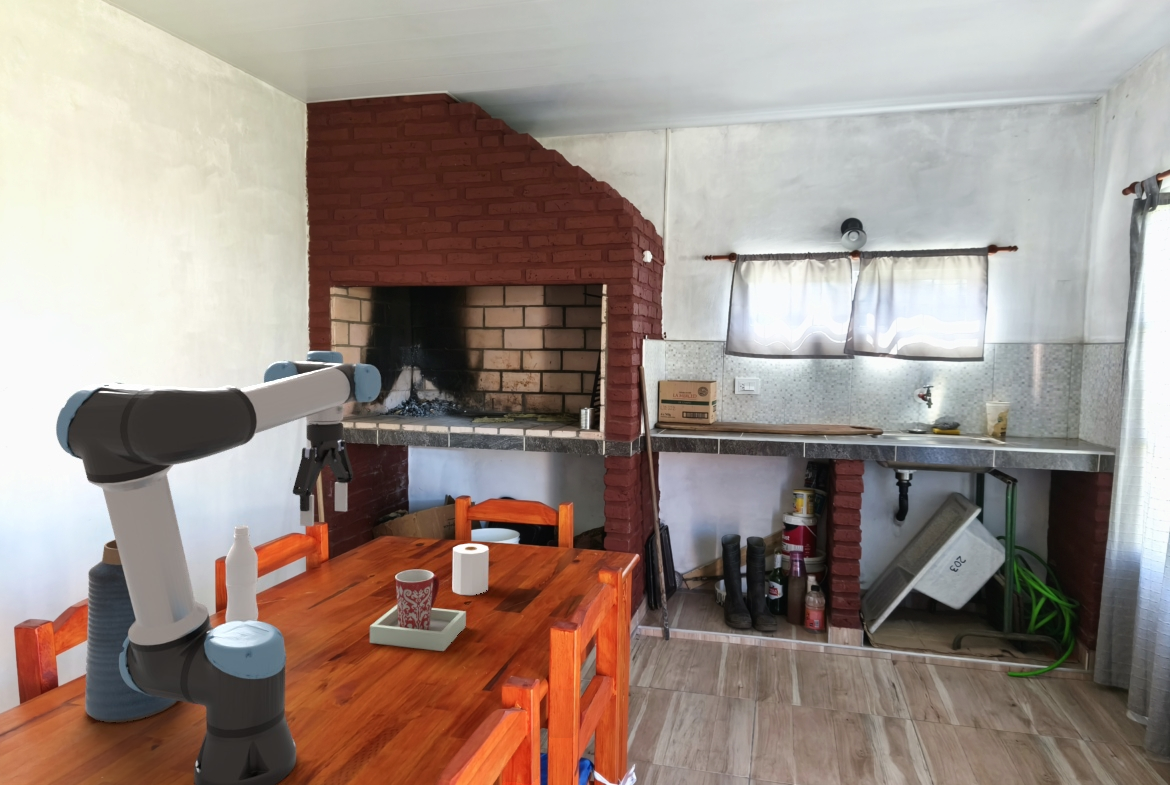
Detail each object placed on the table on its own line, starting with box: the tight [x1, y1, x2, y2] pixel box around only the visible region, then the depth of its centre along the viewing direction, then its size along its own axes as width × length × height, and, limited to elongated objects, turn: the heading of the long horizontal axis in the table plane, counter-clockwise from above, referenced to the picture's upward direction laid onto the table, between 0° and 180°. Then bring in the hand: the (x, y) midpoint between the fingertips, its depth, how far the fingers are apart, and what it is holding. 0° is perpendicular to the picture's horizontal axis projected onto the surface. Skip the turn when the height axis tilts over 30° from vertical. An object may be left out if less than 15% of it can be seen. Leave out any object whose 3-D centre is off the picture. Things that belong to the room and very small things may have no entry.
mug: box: [394, 568, 440, 630], centre depth 171 cm, size 13×9×14 cm
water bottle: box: [224, 524, 259, 623], centre depth 172 cm, size 7×7×25 cm
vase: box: [84, 539, 178, 723], centre depth 135 cm, size 16×16×32 cm
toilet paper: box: [451, 543, 490, 596], centre depth 203 cm, size 10×10×12 cm
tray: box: [369, 604, 467, 652], centre depth 171 cm, size 14×18×4 cm
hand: (324, 518), depth 155 cm, fingers open, 13 cm apart
